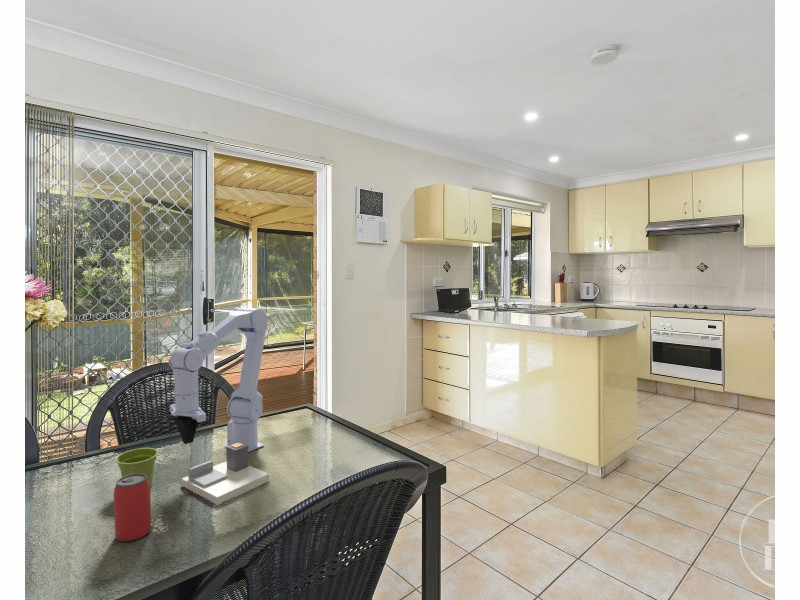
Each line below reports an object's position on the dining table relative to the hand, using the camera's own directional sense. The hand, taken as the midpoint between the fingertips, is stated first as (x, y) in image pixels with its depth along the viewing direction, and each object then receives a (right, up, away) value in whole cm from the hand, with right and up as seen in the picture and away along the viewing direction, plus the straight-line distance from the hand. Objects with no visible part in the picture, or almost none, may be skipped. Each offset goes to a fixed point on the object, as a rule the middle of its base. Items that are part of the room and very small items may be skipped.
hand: (188, 442), depth 120 cm
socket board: (+11, -10, -3) cm, 15 cm away
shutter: (+7, -8, -5) cm, 12 cm away
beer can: (0, -12, -25) cm, 28 cm away
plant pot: (-10, -10, -6) cm, 15 cm away
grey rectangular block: (+13, -7, +2) cm, 15 cm away
